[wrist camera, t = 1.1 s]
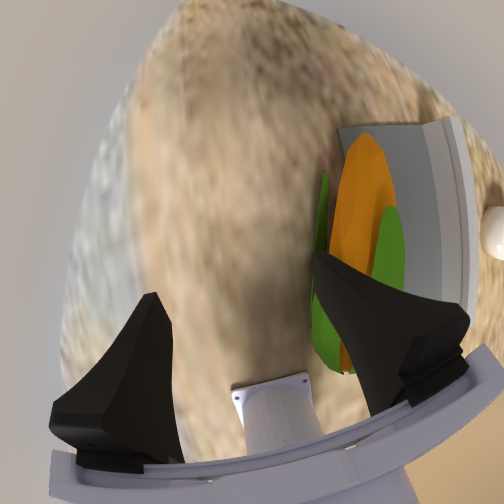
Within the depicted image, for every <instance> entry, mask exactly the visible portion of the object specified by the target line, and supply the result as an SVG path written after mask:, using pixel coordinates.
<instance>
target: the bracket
mask: <svg viewBox="0 0 504 504" xmlns="http://www.w3.org/2000/svg"><path fill="white" fill-rule="evenodd" d="M337 131H338V135H339V139H340V142H341V146H342V150H343V155H344V159H345V160H346V156H347V151H348V149H349V148H350V147H351V146H352V144H353V143H354V142H355V141H356V140H357V138H358V137H359V136H360V135H362V134H364V133H367V132H368V133H369V134H370V135H371V137H372V138H373V139H374V140H375V141H376V142H377V144H378V145H379V146H380V147H381V148H382V150H383V152H384V155H385V158H386V161H387V164H388V168H389V171H390V175H391V178H392V182H393V185H394V190H395V198H396V207H397V211H398V214H399V217H400V220H401V224H402V230H403V236H404V243H405V275H404V289H403V291H404V292H407V293H410V294H413V295H417V296H421V297H424V298H429V299H433V300H438V301H445V302H452V303H458V304H459V305H460V306H461V307H462V308H463V309H464V311H465V312H466V313H467V314H468V315H469V316H470V319H471V320H470V326H469V328H471V327H472V326H474V320H475V312H476V303H477V292H478V274H479V234H478V217H477V206H476V196H475V188H474V181H473V175H472V169H471V164H470V158H469V153H468V149H467V144H466V140H465V136H464V132H463V128H462V125H461V121H460V118H459V117H456V116H447V117H443V118H441V119H438V120H435V121H432V122H429V123H426V124H423V125H375V126H356V127H342V128H338V129H337ZM469 328H468V329H469Z"/></svg>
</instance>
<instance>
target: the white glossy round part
mask: <svg viewBox="0 0 504 504" xmlns="http://www.w3.org/2000/svg"><path fill="white" fill-rule="evenodd" d="M480 239H481V246H482V249H483V251H484V253H485V254H486V255H487V256H489V257H493V258H497V259H501V260H504V207H501V206H490V207H488V208H487V209H486V211H485V213H484V215H483V218H482V222H481V229H480Z"/></svg>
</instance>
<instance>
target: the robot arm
mask: <svg viewBox="0 0 504 504" xmlns="http://www.w3.org/2000/svg"><path fill="white" fill-rule="evenodd" d="M312 260H313V288H314V291H315V293H316V296H317V298H318V300H319V302H320V305H321V307H322V308H323V310H324V312H325V313H326V315H327V317H328V318H329V320H330V322H331V323H332V325H333V327H334V328H335V330H336V332H337V333H338V335H339V337H340V339H341V340H342V342H343V344H344V346H345V348H346V350H347V352H348V355H349V357H350V359H351V362H352V364H353V366H354V369H355V371H356V374H357V376H358V379H359V382H360V385H361V387H362V390H363V393H364V396H365V399H366V402H367V405H368V409H369V412H370V416H371V417H370V418H368V419H366V420H363V421H361V422H359V423H356V424H354V425H351V426H349V427H346V428H344V429H341V430H338V431H336V432H333V433H330V434H327V435H325V433H324V431H323V429H322V427H321V425H320V423H319V420H318V418H317V416H316V414H315V412H314V406H313V399H312V392H311V385H310V378H309V375H308V373H307V372H302V373H298V374H295V375H291V376H288V377H284V378H280V379H277V380H273V381H269V382H265V383H260V384H256V385H252V386H247V387H243V388H238V389H234V390H232V391H231V397H232V400H233V402H234V405H235V408H236V410H237V413H238V415H239V418H240V421H241V423H242V426H243V428H244V432H245V440H246V448H247V456H242V457H236V458H230V459H223V460H216V461H207V462H197V463H185V461H184V457H183V453H182V449H181V445H180V441H179V436H178V431H177V426H176V420H175V413H174V406H173V397H172V356H173V334H172V323H171V321H170V319H169V317H168V315H167V313H166V311H165V309H164V307H163V305H162V303H161V301H160V299H159V297H158V295H157V293H156V292H153V293H148V294H144V295H143V297H142V298H141V300H140V301H139V303H138V305H137V306H136V308H135V310H134V311H133V313H132V314H131V316H130V318H129V319H128V321H127V323H126V324H125V326H124V327H123V329H122V330H121V332H120V333H119V335H118V336H117V338H116V339H115V341H114V342H113V344H112V345H111V346H110V348H109V349H108V350H107V352H106V353H105V354H104V355H103V357H102V358H101V359H100V360H99V361H98V363H97V364H96V365H95V366H94V367H93V368H92V369H91V370H90V371H89V372H88V373H87V374H86V375H85V376H84V377H83V378H82V379H81V380H80V381H79V382H78V383H77V384H76V385H75V386H74V387H72V388H71V389H70V390H69V391H68V392H66V393H65V394H64V395H62V396H61V397H60V398H58V399H57V400H56V401H54V402H53V407H52V412H51V416H50V422H49V429H50V430H51V432H52V433H53V434H54V435H55V436H57V437H58V438H59V439H61V440H63V441H64V442H66V443H67V444H69V445H71V446H72V447H74V448H76V449H77V455H76V454H73V453H69V452H64V451H59V450H52V456H51V467H50V482H49V496H50V497H51V498H54V499H57V500H60V501H63V502H66V503H69V504H420V503H419V500H418V498H417V496H416V493H415V491H414V489H413V486H412V484H411V482H410V480H409V478H408V475H407V473H406V471H405V469H404V466H405V465H407V464H409V463H410V462H412V461H414V460H416V459H417V458H419V457H421V456H422V455H424V454H425V453H427V452H429V451H430V450H431V449H433V448H435V447H436V446H438V445H439V444H441V443H442V442H443V441H445V440H446V439H448V438H449V437H450V436H452V435H453V434H455V433H456V432H457V431H459V430H460V429H461V428H462V427H464V426H465V425H466V424H467V423H469V422H470V421H471V420H472V419H474V418H475V417H476V416H477V415H478V414H479V413H480V412H482V411H483V410H484V409H485V408H486V407H487V406H488V405H489V404H491V402H493V401H494V399H496V397H498V396H499V395H500V394H501V393H502V391H504V368H503V367H502V365H501V364H500V363H499V361H498V360H497V359H496V357H495V356H494V355H493V353H492V352H491V351H490V350H489V348H488V347H487V346H486V344H485V343H484V344H482V345H480V346H479V347H478V348H477V349H475V350H474V351H473V352H471V353H470V354H469V355H468V356H467V357H466V358H465V359H464V358H463V357H462V355H461V354H462V353H463V349H462V348H461V347H460V346H459V345H460V343H461V341H462V339H463V338H464V336H465V334H466V332H467V330H468V328H469V326H470V320H471V319H470V316H469V315H468V314H467V313H466V312H465V311H464V309H463V308H462V307H461V306H460V305H459V304H458V303H452V302H445V301H438V300H433V299H429V298H424V297H421V296H417V295H413V294H410V293H407V292H404V291H401V290H398V289H396V288H393V287H391V286H388V285H386V284H384V283H381V282H379V281H377V280H375V279H373V278H371V277H369V276H367V275H365V274H363V273H362V272H360V271H358V270H356V269H354V268H353V267H351V266H349V265H348V264H346V263H344V262H343V261H341V260H339V259H338V258H336V257H334V256H333V255H331V254H329V253H328V252H326V251H322V252H318V253H314V254H312ZM305 379H306V381H303V380H305ZM236 396H238V398H236ZM355 444H356V447H354V448H351V449H348V450H345V448H347V447H350V446H352V445H355ZM206 480H213V481H212V482H210V483H209V482H208V481H206Z"/></svg>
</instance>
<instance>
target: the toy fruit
mask: <svg viewBox="0 0 504 504" xmlns="http://www.w3.org/2000/svg"><path fill="white" fill-rule="evenodd" d="M327 208H328V175H327V172H326V171H325V170H324V173H323V179H322V185H321V191H320V197H319V203H318V208H317V218H316V234H315V247H314V253H318V252H322V251H326V249H327ZM329 254H331V255H333V256H334V257H336V258H338V259H339V260H341V261H343V262H344V263H346V264H348V265H349V266H351V267H353V268H354V269H356V270H358V271H360V272H362V273H363V274H365V275H367V276H369V277H371V278H373V279H375V280H377V281H379V282H381V283H384V284H386V285H388V286H391V287H393V288H396V289H398V290H401V291H403V289H404V275H405V243H404V236H403V230H402V224H401V220H400V217H399V214H398V211H397V207H396V198H395V190H394V185H393V182H392V178H391V175H390V171H389V168H388V164H387V161H386V158H385V155H384V152H383V150H382V148H381V147H380V146H379V145H378V144H377V142H376V141H375V140H374V139H373V138H372V137H371V135H370V134H369V133H368V132H367V133H364V134H362V135H360V136H359V137H358V138H357V140H356V141H355V142H354V143H353V144H352V146H351V147H350V148H349V149H348V151H347V156H346V160H345V164H344V168H343V172H342V176H341V180H340V183H339V189H338V196H337V203H336V209H335V215H334V221H333V227H332V233H331V239H330V248H329ZM311 338H312V342H313V345H314V348H315V351H316V353H317V354H318V355H319V357H320V358H321V359H322V361H323V362H324V363H325V364H326V366H327V367H328V368H329V369H331V370H333V371H336V372H338V373H340V374H343V375H344V372H341V371H345V372H349V374H355V373H356V371H355V369H354V366H353V364H352V362H351V359H350V357H349V355H348V352H347V350H346V348H345V346H344V344H343V342H342V340H341V339H340V337H339V335H338V333H337V332H336V330H335V328H334V327H333V325H332V323H331V322H330V320H329V318H328V317H327V315H326V313H325V312H324V310H323V308H322V307H321V305H320V302H319V300H318V298H317V296H316V293H315V291H314V288H313V275H312V289H311Z"/></svg>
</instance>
